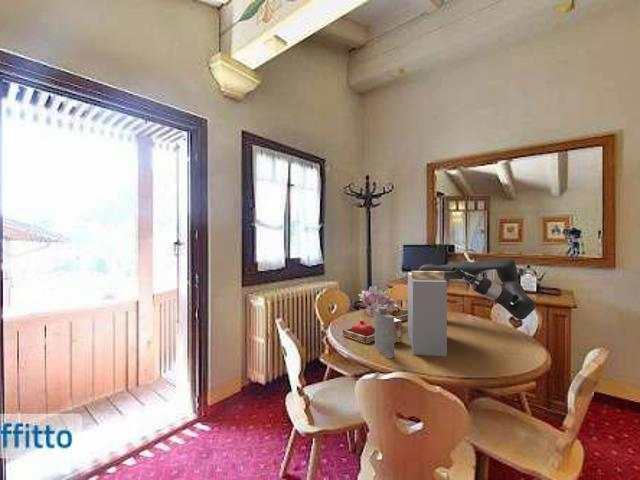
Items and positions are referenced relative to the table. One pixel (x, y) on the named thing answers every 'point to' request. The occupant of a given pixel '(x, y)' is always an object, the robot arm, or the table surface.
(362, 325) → the butter dish
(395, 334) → the small box
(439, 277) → the dark brown square bar
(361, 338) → the frame
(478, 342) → the table surface
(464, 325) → the table surface
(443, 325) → the cabinet
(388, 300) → the flower
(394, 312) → the nautilus
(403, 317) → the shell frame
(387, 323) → the hip flask
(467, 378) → the table surface
